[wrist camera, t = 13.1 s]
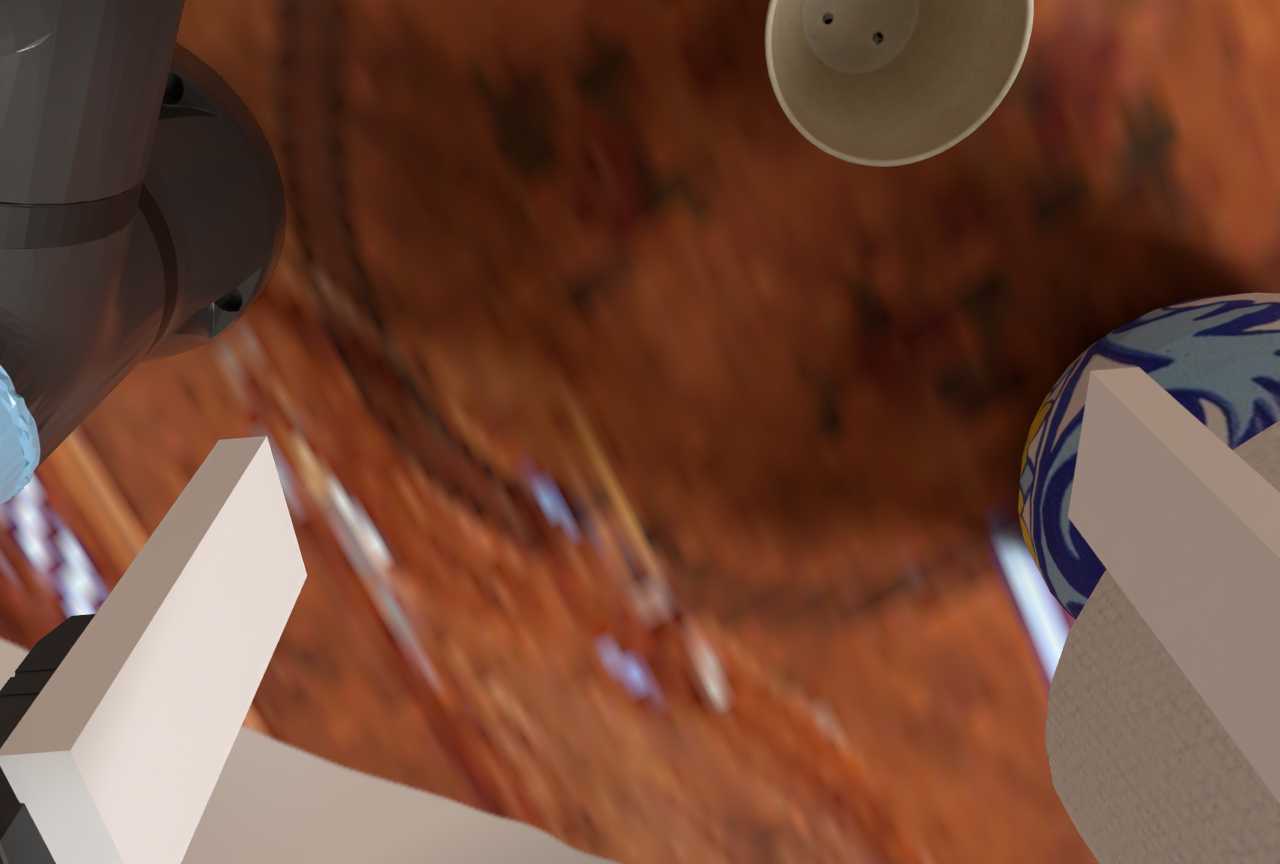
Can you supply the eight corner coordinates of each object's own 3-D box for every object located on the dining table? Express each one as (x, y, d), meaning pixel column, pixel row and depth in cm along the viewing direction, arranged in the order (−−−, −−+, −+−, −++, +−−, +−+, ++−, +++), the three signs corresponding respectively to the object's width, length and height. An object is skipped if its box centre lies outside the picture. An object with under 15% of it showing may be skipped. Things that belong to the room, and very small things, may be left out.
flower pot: (710, -58, 42) (728, -49, 36) (941, -161, 40) (1003, -171, 34) (783, 164, 46) (811, 205, 40) (994, 78, 45) (1057, 108, 39)
